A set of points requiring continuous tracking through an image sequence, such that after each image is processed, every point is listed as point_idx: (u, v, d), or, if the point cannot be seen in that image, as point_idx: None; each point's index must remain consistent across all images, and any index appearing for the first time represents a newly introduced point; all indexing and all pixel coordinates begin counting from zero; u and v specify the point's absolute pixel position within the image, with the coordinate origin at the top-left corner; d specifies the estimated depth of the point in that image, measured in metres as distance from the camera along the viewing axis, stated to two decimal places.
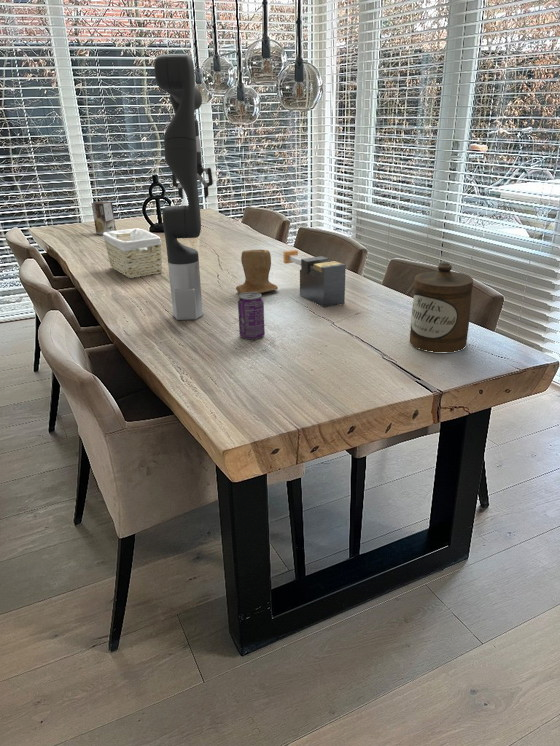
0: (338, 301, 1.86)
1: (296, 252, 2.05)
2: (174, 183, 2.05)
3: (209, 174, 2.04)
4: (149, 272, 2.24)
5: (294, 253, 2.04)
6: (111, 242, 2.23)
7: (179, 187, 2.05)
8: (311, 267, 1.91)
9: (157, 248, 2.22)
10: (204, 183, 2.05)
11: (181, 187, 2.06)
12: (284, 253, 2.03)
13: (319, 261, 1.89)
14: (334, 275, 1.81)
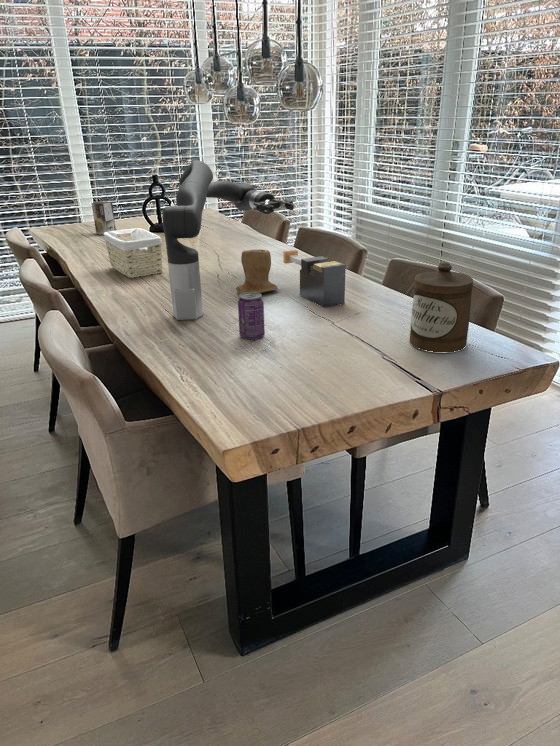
0: (338, 301, 1.86)
1: (296, 252, 2.05)
2: (260, 204, 2.04)
3: (287, 200, 2.11)
4: (149, 272, 2.24)
5: (294, 253, 2.04)
6: (111, 242, 2.23)
7: (266, 204, 2.04)
8: (311, 267, 1.91)
9: (157, 248, 2.22)
10: (285, 201, 2.08)
11: None
12: (284, 253, 2.03)
13: (319, 261, 1.89)
14: (334, 275, 1.81)
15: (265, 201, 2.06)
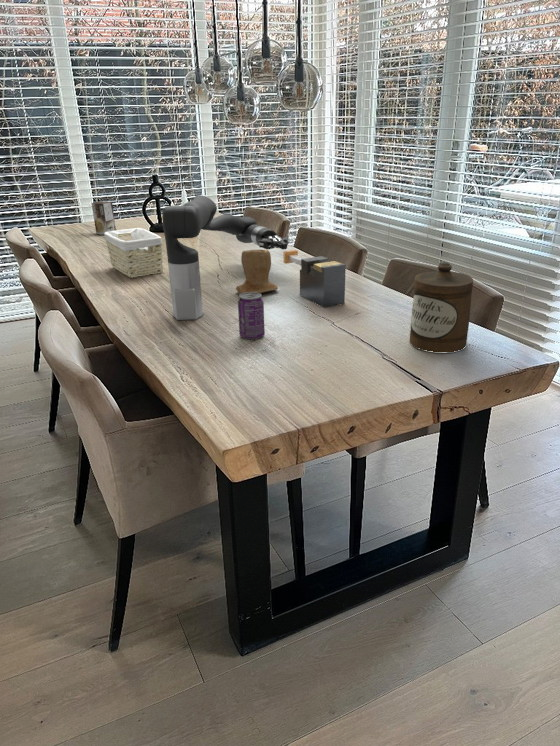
0: (338, 301, 1.86)
1: (296, 252, 2.05)
2: (272, 241, 2.11)
3: (286, 237, 2.15)
4: (150, 272, 2.24)
5: (294, 253, 2.04)
6: (112, 242, 2.24)
7: (277, 241, 2.10)
8: (311, 267, 1.91)
9: (158, 248, 2.22)
10: (279, 240, 2.12)
11: None
12: (284, 253, 2.03)
13: (319, 261, 1.89)
14: (334, 275, 1.81)
15: (271, 238, 2.12)
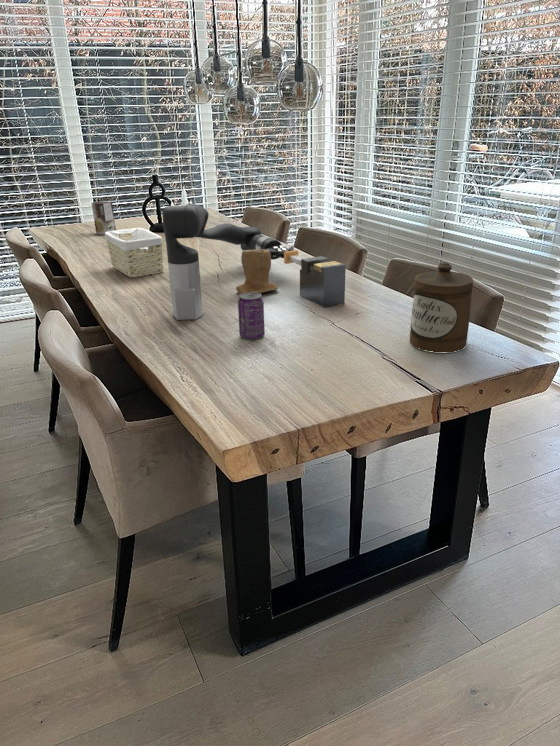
0: (338, 301, 1.86)
1: (296, 252, 2.04)
2: (276, 251, 2.08)
3: (291, 247, 2.13)
4: (150, 272, 2.24)
5: (295, 254, 2.04)
6: (113, 241, 2.24)
7: (282, 251, 2.08)
8: (312, 267, 1.91)
9: (158, 248, 2.22)
10: (284, 250, 2.09)
11: None
12: (284, 253, 2.03)
13: (319, 261, 1.89)
14: (334, 275, 1.81)
15: (276, 248, 2.10)
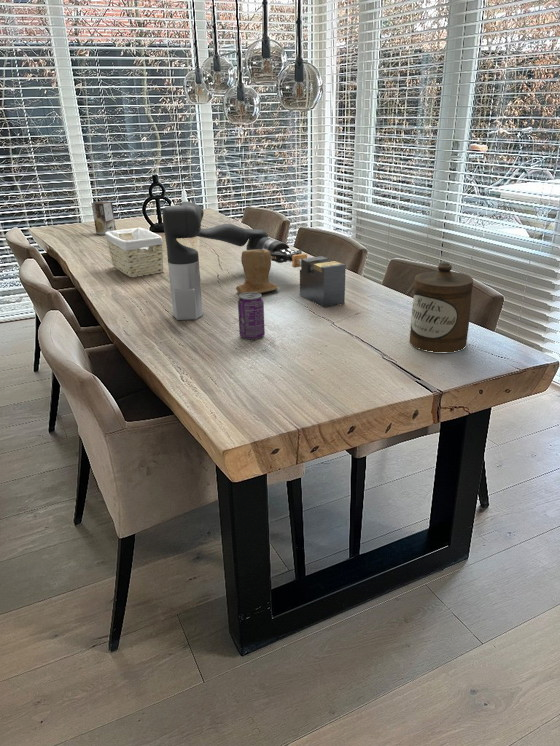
0: (338, 301, 1.86)
1: (305, 256, 1.99)
2: None
3: (299, 251, 2.08)
4: (150, 271, 2.25)
5: (303, 257, 1.99)
6: (113, 241, 2.24)
7: (290, 254, 2.03)
8: None
9: (158, 248, 2.22)
10: (292, 253, 2.04)
11: None
12: (293, 257, 1.98)
13: (319, 261, 1.89)
14: (334, 275, 1.81)
15: (284, 251, 2.05)
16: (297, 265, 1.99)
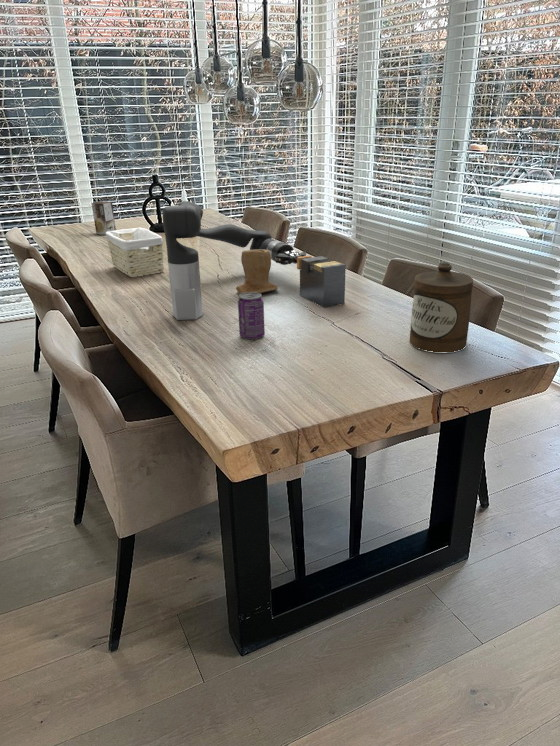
0: (338, 301, 1.86)
1: None
2: (289, 256, 2.00)
3: (303, 252, 2.05)
4: (151, 271, 2.25)
5: None
6: (113, 241, 2.24)
7: (295, 256, 2.00)
8: None
9: (159, 248, 2.23)
10: (296, 255, 2.01)
11: None
12: (298, 259, 1.95)
13: (319, 261, 1.89)
14: (334, 275, 1.81)
15: (288, 253, 2.02)
16: None
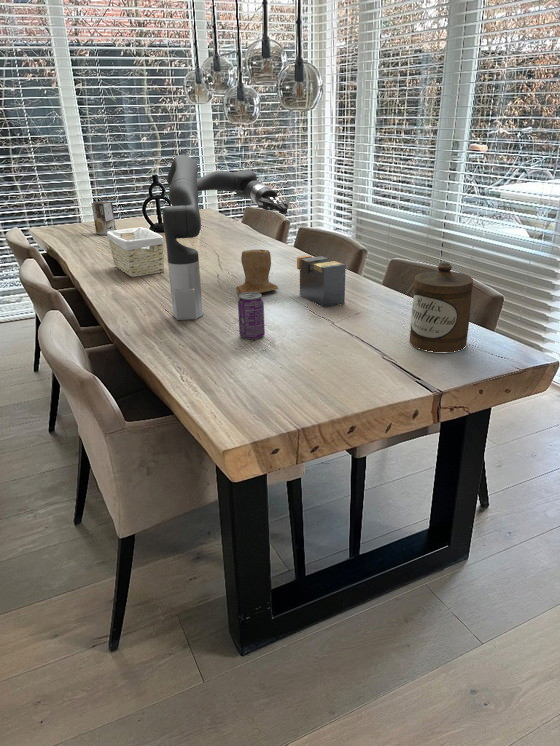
0: (338, 301, 1.86)
1: None
2: (272, 202, 2.01)
3: (287, 201, 2.06)
4: (151, 271, 2.25)
5: None
6: (114, 241, 2.25)
7: (278, 204, 2.01)
8: None
9: (159, 247, 2.23)
10: (279, 203, 2.02)
11: None
12: (298, 259, 1.95)
13: (319, 261, 1.89)
14: (334, 275, 1.81)
15: (272, 199, 2.03)
16: None
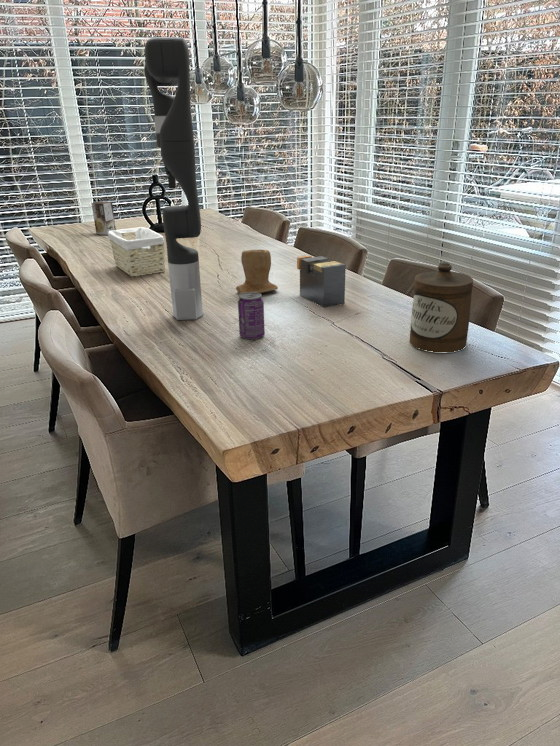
0: (338, 301, 1.86)
1: None
2: None
3: None
4: (152, 271, 2.26)
5: None
6: (115, 241, 2.25)
7: None
8: None
9: (160, 247, 2.23)
10: None
11: (172, 175, 1.88)
12: (298, 259, 1.95)
13: (319, 261, 1.89)
14: (334, 275, 1.81)
15: None
16: None
